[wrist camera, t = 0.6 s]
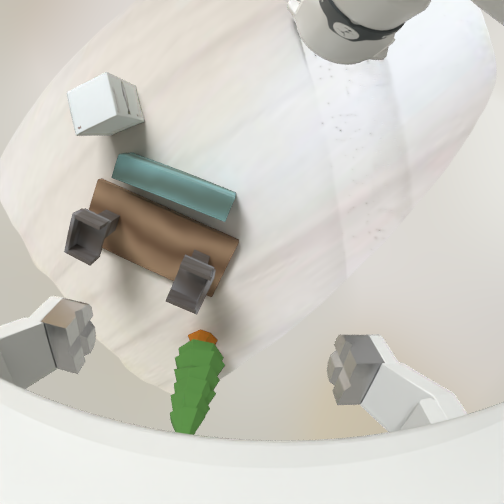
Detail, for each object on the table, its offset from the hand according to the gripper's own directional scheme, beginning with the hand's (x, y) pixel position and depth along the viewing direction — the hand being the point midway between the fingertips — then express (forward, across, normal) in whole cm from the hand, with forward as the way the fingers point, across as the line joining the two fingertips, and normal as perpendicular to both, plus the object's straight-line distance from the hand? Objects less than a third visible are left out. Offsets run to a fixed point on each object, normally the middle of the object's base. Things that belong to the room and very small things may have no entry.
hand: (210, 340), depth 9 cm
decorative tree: (+44, +3, +34) cm, 56 cm away
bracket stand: (+44, +13, +12) cm, 47 cm away
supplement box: (+44, +22, -11) cm, 50 cm away
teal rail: (+44, +10, +2) cm, 45 cm away
